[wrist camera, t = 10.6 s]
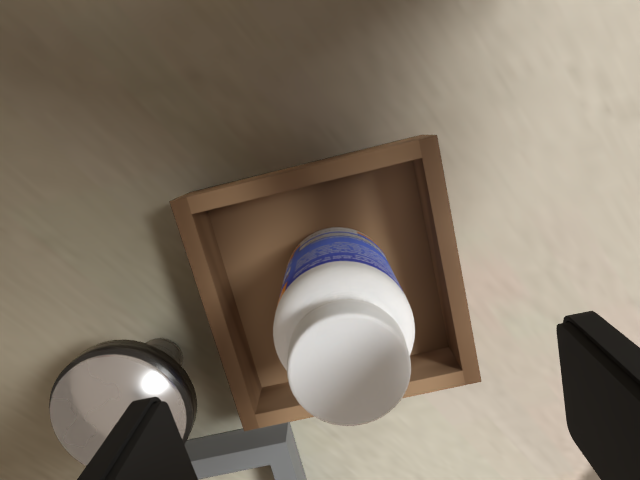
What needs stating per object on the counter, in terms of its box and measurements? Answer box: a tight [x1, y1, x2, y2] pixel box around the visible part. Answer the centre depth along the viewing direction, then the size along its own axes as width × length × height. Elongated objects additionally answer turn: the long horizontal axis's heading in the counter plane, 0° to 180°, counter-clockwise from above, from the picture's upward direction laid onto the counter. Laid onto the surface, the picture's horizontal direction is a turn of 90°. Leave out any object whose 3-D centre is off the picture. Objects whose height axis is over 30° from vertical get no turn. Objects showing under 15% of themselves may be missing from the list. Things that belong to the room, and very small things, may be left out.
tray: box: [169, 135, 481, 431], centre depth 23 cm, size 12×12×3 cm
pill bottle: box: [273, 227, 415, 426], centre depth 19 cm, size 5×5×10 cm
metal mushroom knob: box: [49, 338, 197, 466], centre depth 23 cm, size 6×6×6 cm
